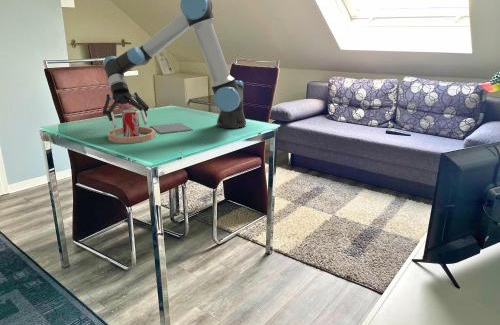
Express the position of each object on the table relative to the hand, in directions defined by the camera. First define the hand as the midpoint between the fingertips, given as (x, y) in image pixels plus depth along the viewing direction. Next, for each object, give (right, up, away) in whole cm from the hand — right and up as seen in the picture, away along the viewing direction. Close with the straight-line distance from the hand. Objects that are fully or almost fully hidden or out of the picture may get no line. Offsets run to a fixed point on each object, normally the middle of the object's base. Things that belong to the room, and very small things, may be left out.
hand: (130, 124), depth 168 cm
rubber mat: (+14, 0, +19) cm, 24 cm away
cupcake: (-17, +10, +47) cm, 51 cm away
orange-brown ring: (0, -5, +3) cm, 6 cm away
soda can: (0, -5, +3) cm, 6 cm away
